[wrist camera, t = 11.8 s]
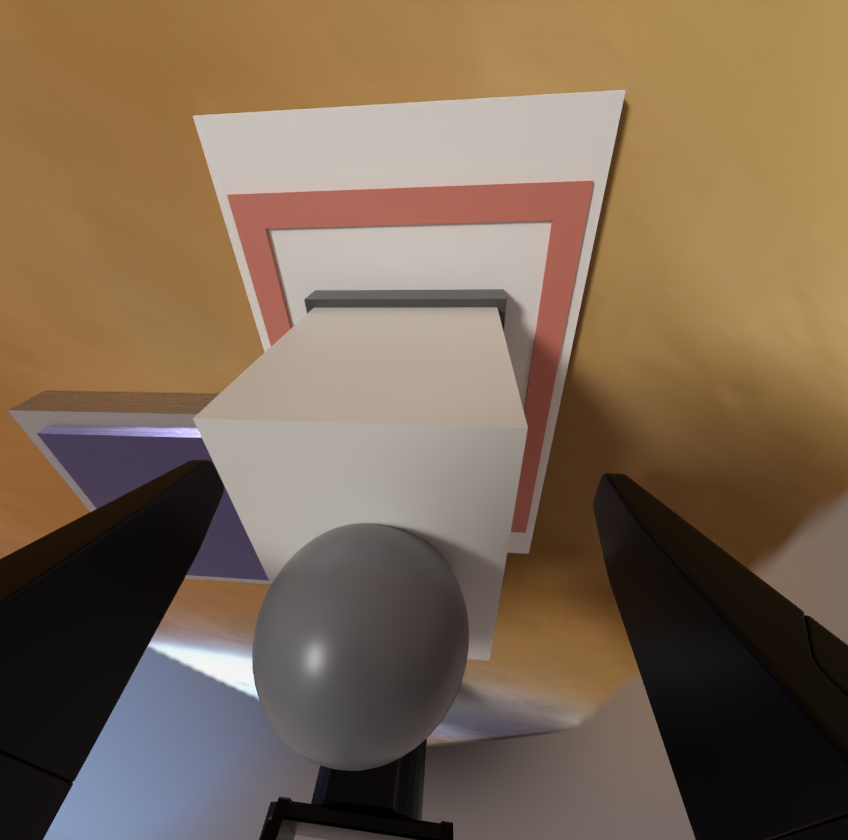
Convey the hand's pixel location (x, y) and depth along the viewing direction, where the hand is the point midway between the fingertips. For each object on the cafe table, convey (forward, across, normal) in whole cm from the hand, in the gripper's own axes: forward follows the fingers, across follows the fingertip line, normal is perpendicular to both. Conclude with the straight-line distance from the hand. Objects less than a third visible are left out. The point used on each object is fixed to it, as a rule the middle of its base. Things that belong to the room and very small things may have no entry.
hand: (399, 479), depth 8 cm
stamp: (+3, 0, 0) cm, 3 cm away
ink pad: (+4, +9, +4) cm, 11 cm away
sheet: (+4, 0, 0) cm, 4 cm away
